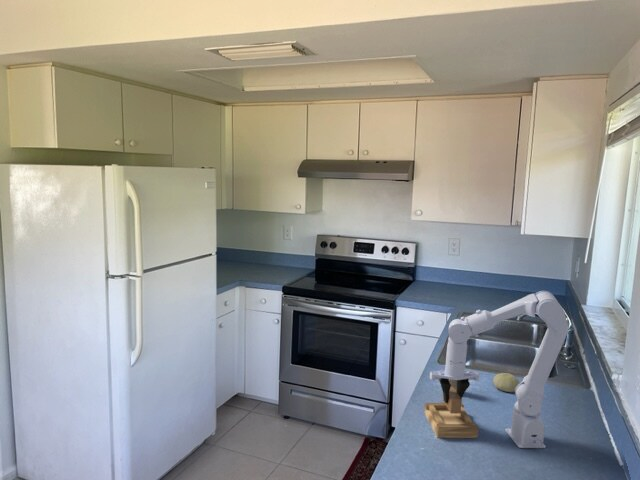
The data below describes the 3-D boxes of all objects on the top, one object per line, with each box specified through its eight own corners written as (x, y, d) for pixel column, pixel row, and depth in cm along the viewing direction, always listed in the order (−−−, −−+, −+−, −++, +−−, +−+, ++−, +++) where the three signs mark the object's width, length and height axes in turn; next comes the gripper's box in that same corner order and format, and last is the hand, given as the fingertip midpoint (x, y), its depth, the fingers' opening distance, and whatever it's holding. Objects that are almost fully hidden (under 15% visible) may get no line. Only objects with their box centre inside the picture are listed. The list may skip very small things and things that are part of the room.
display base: (477, 437, 146) (478, 426, 145) (437, 437, 145) (438, 426, 144) (461, 413, 160) (462, 403, 159) (424, 413, 159) (425, 402, 158)
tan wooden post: (461, 413, 147) (462, 399, 147) (450, 413, 147) (452, 399, 146) (452, 400, 155) (453, 386, 154) (442, 400, 155) (443, 386, 154)
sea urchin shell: (489, 385, 176) (494, 364, 180) (491, 393, 182) (496, 373, 186) (516, 392, 172) (521, 371, 175) (518, 400, 177) (522, 380, 181)
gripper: (474, 354, 153) (470, 395, 155) (428, 353, 152) (424, 394, 154) (483, 364, 146) (478, 406, 148) (435, 363, 145) (431, 406, 147)
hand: (451, 401), depth 151 cm, fingers closed on tan wooden post, 3 cm apart
